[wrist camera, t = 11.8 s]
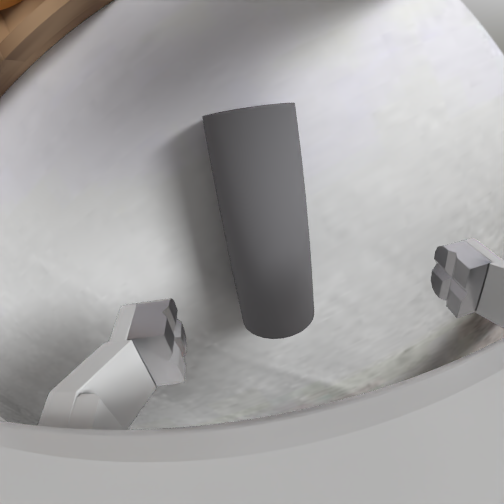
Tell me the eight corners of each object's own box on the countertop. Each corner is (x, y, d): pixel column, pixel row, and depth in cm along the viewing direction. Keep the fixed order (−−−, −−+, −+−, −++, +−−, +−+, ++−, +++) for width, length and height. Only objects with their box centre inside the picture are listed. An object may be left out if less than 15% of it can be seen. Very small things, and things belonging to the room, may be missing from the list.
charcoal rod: (304, 288, 20) (322, 329, 16) (240, 300, 20) (246, 345, 16) (283, 102, 15) (305, 103, 11) (203, 114, 15) (200, 118, 11)
